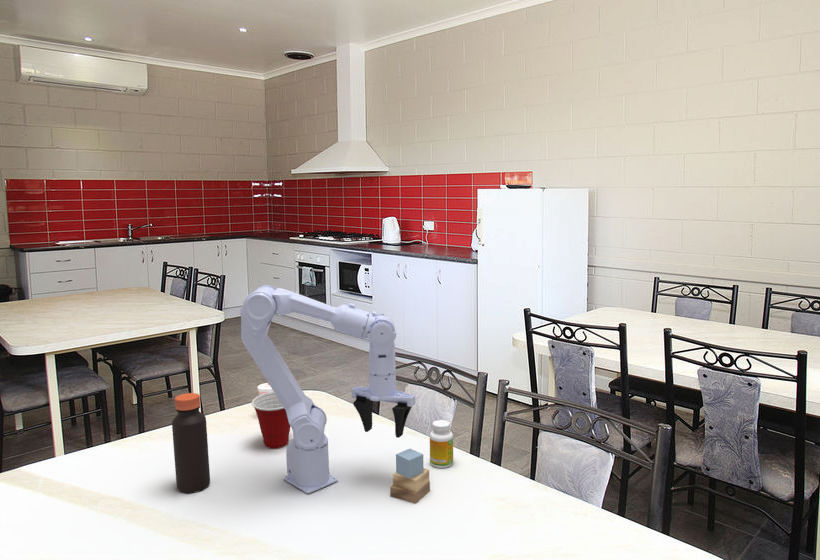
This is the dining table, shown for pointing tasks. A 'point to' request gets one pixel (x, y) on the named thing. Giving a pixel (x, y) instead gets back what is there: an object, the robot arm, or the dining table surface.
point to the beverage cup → (264, 388)
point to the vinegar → (190, 445)
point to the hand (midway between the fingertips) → (383, 433)
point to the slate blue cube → (409, 463)
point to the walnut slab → (409, 493)
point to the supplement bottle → (441, 444)
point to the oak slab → (411, 481)
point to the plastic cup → (272, 420)
